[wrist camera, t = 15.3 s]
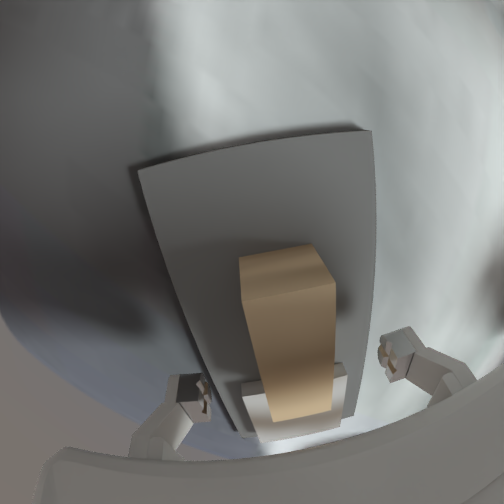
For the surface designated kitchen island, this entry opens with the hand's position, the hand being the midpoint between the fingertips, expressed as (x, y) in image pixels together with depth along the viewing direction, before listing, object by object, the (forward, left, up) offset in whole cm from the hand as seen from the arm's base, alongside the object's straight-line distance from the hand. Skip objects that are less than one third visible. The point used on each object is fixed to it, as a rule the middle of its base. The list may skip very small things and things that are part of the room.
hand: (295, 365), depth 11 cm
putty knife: (+2, 0, -2) cm, 3 cm away
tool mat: (+1, 0, -3) cm, 3 cm away
